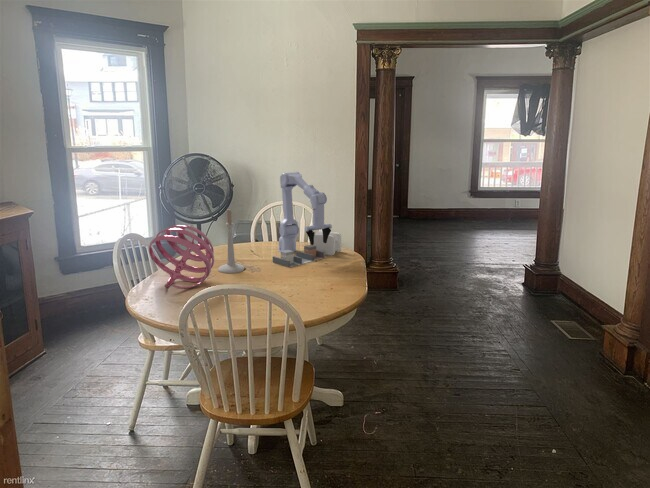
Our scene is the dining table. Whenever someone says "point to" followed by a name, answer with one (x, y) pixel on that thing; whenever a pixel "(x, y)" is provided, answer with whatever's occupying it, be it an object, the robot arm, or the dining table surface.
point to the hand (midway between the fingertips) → (318, 243)
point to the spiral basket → (184, 254)
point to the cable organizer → (328, 243)
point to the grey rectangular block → (288, 255)
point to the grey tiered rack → (299, 259)
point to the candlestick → (230, 251)
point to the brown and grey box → (310, 250)
